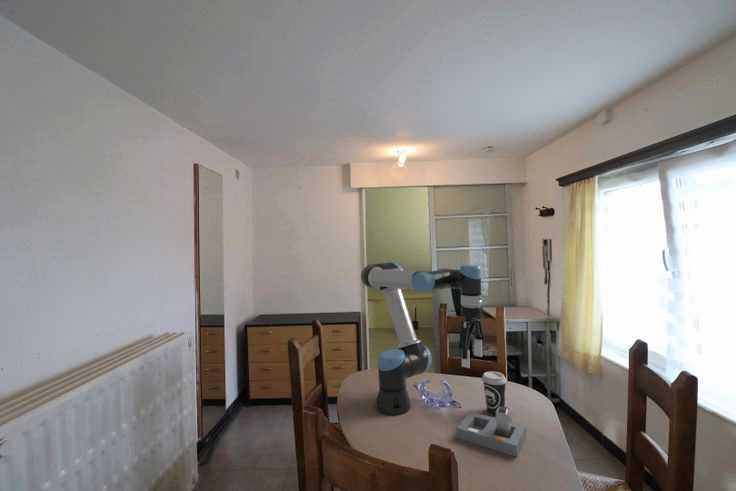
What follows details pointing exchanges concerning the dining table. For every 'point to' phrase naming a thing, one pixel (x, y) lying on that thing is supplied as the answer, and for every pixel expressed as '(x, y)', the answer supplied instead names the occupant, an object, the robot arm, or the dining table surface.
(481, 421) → the socket board
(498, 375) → the coffee cup
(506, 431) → the plug
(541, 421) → the dining table surface
